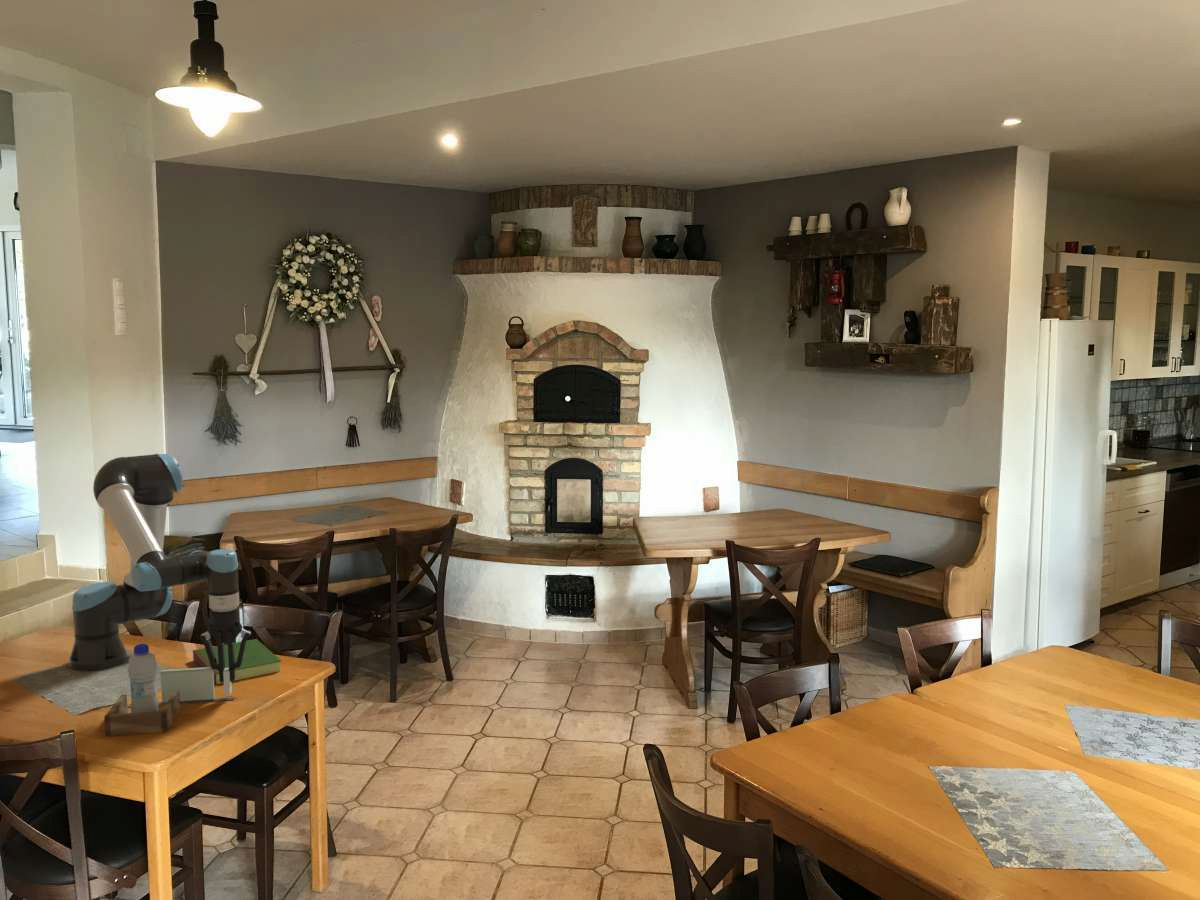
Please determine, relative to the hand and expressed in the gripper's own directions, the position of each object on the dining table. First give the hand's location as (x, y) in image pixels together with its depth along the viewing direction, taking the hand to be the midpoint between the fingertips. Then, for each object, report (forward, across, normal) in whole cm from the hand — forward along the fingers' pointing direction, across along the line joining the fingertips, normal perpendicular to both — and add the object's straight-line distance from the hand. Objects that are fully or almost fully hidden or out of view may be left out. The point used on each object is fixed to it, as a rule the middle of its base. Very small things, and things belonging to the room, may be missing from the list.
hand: (228, 692), depth 253 cm
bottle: (+2, -18, -11) cm, 21 cm away
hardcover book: (+3, -2, +26) cm, 26 cm away
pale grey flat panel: (+2, -10, 0) cm, 10 cm away
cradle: (+2, -12, -9) cm, 15 cm away
